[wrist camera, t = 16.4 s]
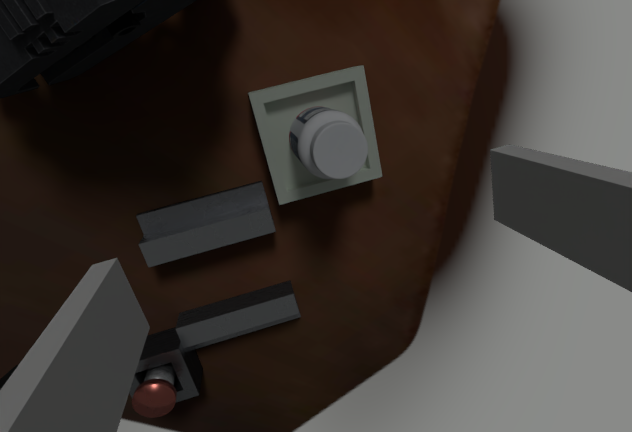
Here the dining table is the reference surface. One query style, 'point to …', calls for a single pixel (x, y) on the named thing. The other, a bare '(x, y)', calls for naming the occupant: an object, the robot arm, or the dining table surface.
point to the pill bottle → (328, 142)
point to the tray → (291, 99)
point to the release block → (183, 360)
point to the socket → (210, 233)
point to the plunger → (156, 392)
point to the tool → (69, 36)
